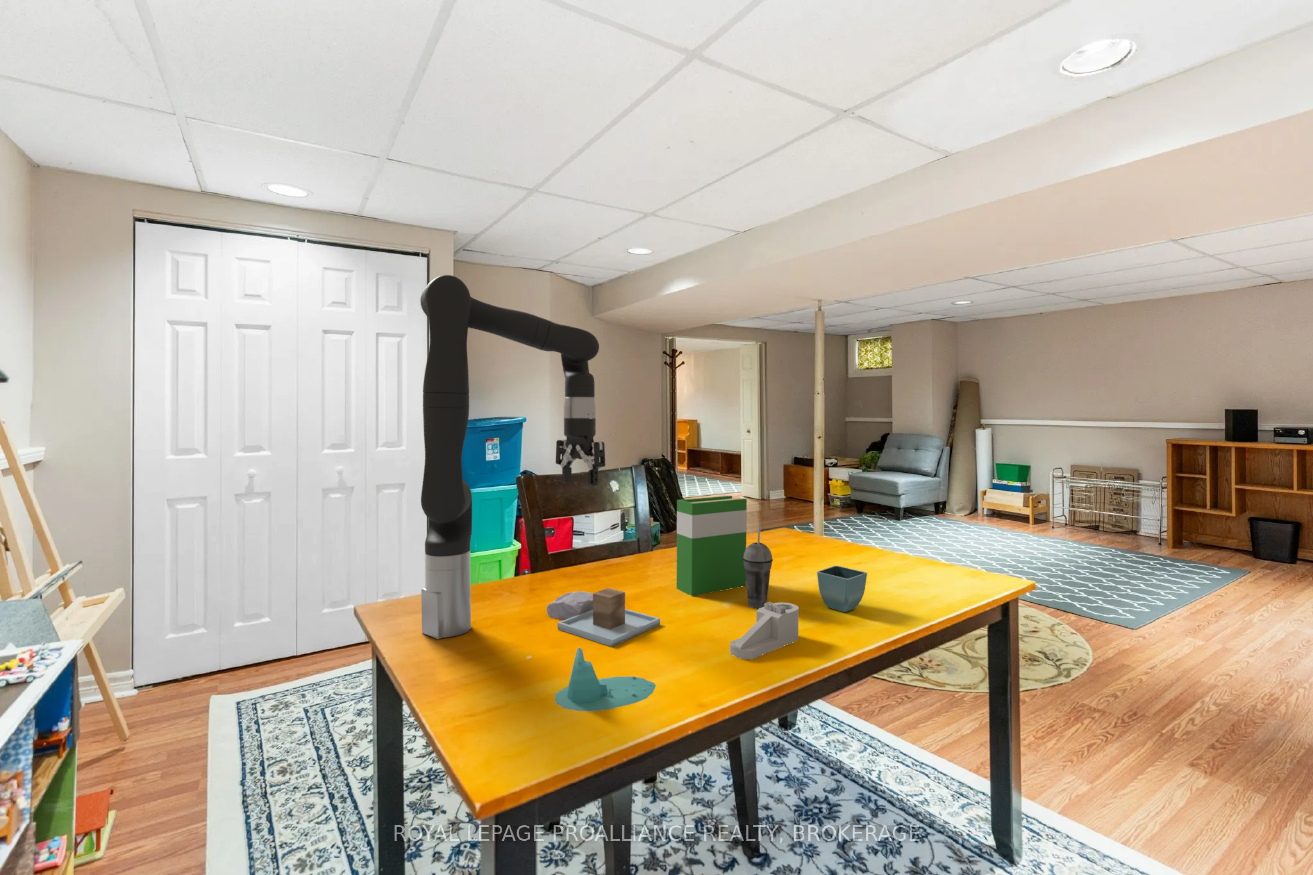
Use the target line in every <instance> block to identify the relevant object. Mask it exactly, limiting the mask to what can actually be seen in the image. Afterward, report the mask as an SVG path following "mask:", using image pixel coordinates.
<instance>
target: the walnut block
mask: <svg viewBox="0 0 1313 875" xmlns="http://www.w3.org/2000/svg"><path fill="white" fill-rule="evenodd" d="M592 594H593V625H596V626H599V627H602V628H606V629H609V630H611V629H613V628H615V627H618V626H620V625H622V624H624V623H625V609H626V592H625V591H622V590H619V589H614V588H611V587H607V588H604V589H602V590H599V591H598V590H597V591H596V592H593V593H592Z"/></svg>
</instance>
